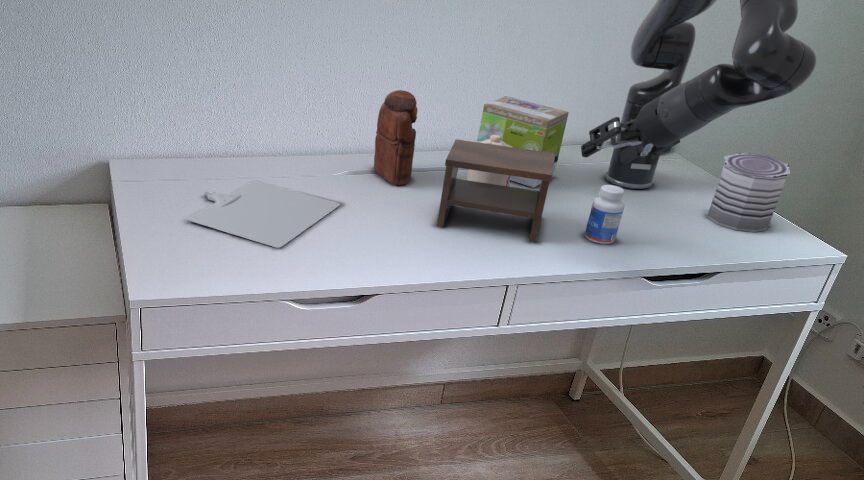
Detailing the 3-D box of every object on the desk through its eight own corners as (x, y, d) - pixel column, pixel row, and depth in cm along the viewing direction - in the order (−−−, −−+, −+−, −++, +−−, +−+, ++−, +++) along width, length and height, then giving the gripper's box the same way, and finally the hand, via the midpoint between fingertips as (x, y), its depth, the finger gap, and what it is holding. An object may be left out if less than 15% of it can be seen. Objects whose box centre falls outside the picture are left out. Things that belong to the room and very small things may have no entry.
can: (782, 227, 168) (804, 168, 162) (743, 236, 164) (764, 175, 158) (732, 206, 177) (751, 149, 171) (693, 214, 172) (711, 155, 166)
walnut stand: (445, 203, 171) (455, 139, 165) (540, 218, 167) (555, 153, 160) (435, 226, 161) (445, 159, 154) (536, 243, 156) (552, 175, 150)
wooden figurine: (419, 184, 180) (431, 97, 170) (392, 187, 178) (403, 99, 168) (391, 165, 189) (402, 82, 180) (365, 168, 187) (375, 84, 178)
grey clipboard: (238, 178, 178) (238, 172, 177) (341, 207, 169) (341, 201, 168) (167, 216, 159) (167, 211, 158) (278, 251, 150) (279, 245, 149)
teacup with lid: (514, 199, 175) (526, 143, 169) (471, 199, 174) (481, 143, 168) (494, 178, 185) (504, 124, 179) (453, 178, 184) (462, 124, 178)
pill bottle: (579, 232, 162) (591, 182, 157) (607, 232, 162) (620, 183, 157) (591, 244, 157) (604, 193, 152) (619, 244, 157) (633, 194, 152)
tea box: (470, 170, 189) (482, 102, 181) (492, 160, 195) (504, 94, 188) (534, 189, 180) (549, 119, 173) (555, 177, 187) (570, 109, 180)
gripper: (708, 97, 138) (631, 140, 153) (639, 84, 133) (567, 129, 147) (715, 141, 137) (636, 180, 151) (646, 129, 131) (572, 170, 146)
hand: (602, 155), depth 149 cm, fingers open, 8 cm apart
